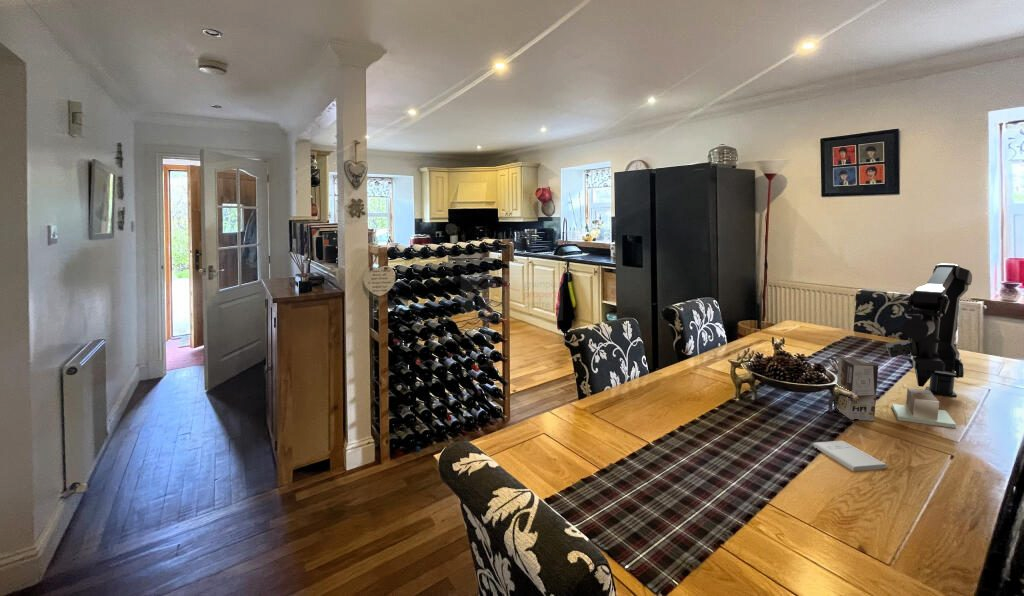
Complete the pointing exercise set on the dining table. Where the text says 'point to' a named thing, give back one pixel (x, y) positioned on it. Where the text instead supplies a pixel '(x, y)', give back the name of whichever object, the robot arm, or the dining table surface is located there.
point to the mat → (906, 415)
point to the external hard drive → (849, 456)
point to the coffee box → (857, 387)
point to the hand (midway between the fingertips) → (920, 386)
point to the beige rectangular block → (922, 403)
